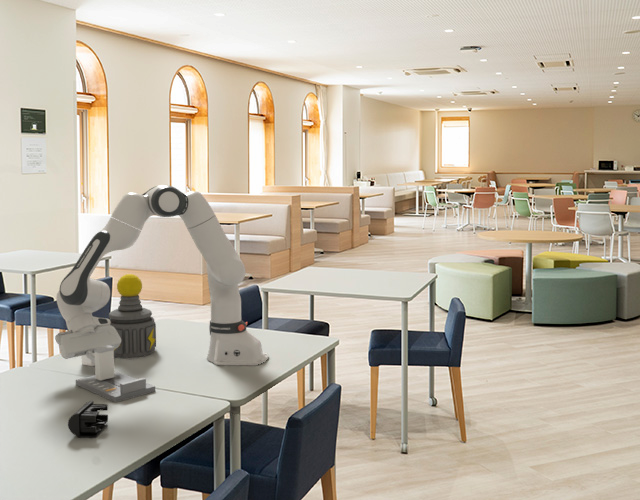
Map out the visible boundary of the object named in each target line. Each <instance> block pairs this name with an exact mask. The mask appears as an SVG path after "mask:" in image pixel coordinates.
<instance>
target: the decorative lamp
mask: <svg viewBox="0 0 640 500" xmlns="http://www.w3.org/2000/svg"><path fill="white" fill-rule="evenodd" d="M116 289H117V292H118V294H119V295H120V300H119V303H118V304H119V305H118V307H117V308H116V309H114V310H111V311H110V312H109V313H108V319H109V320H110V322H111V323H110V325H111V326H113V327H114V328H115V329H116V331H117V332H118V334H119V336H120V338H121V343H120V345H119V347H118V348H116V349H114V358H117V359H134V358H136V359H137V358H142V357H146V356H149V355H151V354H154V352H155V350H156V348H157V325H156V322H155V318H154V317H153V316H152V314H153V313H152V311H151V310H150V309H148V308H145V307H143V305H142V304H141V303H142V302H141V300H140V293H141V292H142V289H143V283H142V281H141V279H140V278H139V276H137V275H136V274H133V273H127V274H124V275H122V276H121V277H120V278H119V280H118V281H117V283H116Z"/></svg>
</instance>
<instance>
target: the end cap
mask: <svg viewBox="0 0 640 500" xmlns="http://www.w3.org/2000/svg"><path fill="white" fill-rule="evenodd" d="M108 405H109V404H108V403H106V404H105V403H104V404H103V403H100V404H99V403H94V400H89V401H88V402H86V403H84V404H83V405H82V406H81V407H80V408H79V409H78V410H76V411H75V412H74V413H73V414H72V415H71V416H70V417H69V419H68V422H67V427H68V430H69V432H70V433H72V434H73V435H75V436H76V437H77V438H79V439H96V438H98V437H99V436H100V434H102V433H103V431H105V429H106V428H107V427H108V426H109V424H108V421H109V415H108V414H101V413H100V411H108V409H109V408H108V407H109V406H108Z"/></svg>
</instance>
